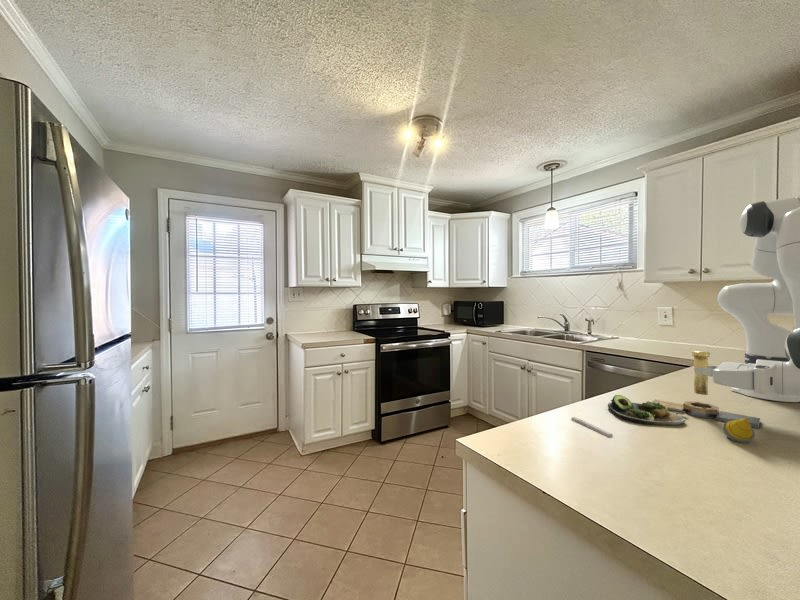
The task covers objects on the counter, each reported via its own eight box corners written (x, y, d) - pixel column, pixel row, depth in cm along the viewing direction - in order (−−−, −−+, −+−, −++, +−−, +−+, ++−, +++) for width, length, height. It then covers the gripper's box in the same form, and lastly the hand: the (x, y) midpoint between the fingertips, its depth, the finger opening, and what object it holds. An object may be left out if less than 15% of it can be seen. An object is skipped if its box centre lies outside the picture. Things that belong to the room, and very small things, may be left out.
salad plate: (670, 409, 104) (670, 394, 104) (707, 431, 87) (707, 413, 87) (601, 404, 109) (601, 390, 109) (622, 424, 92) (622, 407, 92)
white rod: (612, 438, 83) (612, 434, 83) (608, 438, 83) (608, 434, 83) (574, 420, 95) (574, 416, 95) (571, 420, 95) (571, 417, 95)
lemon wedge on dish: (755, 441, 80) (771, 423, 74) (734, 451, 80) (749, 433, 74) (732, 422, 84) (746, 403, 78) (713, 431, 84) (725, 413, 78)
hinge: (655, 402, 110) (655, 394, 110) (760, 421, 92) (760, 412, 92) (649, 406, 105) (648, 399, 105) (758, 428, 87) (758, 419, 87)
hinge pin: (693, 390, 101) (693, 350, 101) (711, 393, 98) (710, 351, 98) (690, 393, 98) (690, 351, 99) (709, 396, 95) (708, 353, 95)
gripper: (768, 360, 95) (703, 354, 106) (763, 370, 82) (689, 362, 92) (768, 382, 95) (703, 374, 106) (763, 395, 82) (689, 385, 92)
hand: (696, 368), depth 99 cm, fingers closed on hinge pin, 3 cm apart
